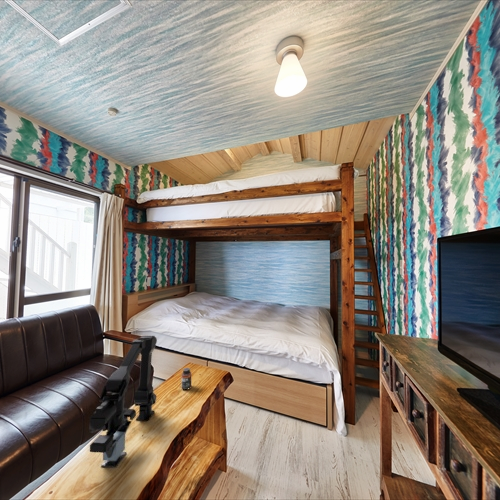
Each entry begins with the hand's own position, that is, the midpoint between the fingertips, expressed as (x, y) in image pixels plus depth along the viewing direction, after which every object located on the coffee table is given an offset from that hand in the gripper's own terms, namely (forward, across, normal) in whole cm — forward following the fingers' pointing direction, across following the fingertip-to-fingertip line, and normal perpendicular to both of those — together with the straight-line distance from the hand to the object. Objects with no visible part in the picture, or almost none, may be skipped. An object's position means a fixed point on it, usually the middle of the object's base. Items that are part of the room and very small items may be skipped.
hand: (114, 450), depth 83 cm
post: (+3, 0, 0) cm, 3 cm away
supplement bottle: (+4, -49, +11) cm, 50 cm away
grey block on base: (+1, 0, 0) cm, 1 cm away
